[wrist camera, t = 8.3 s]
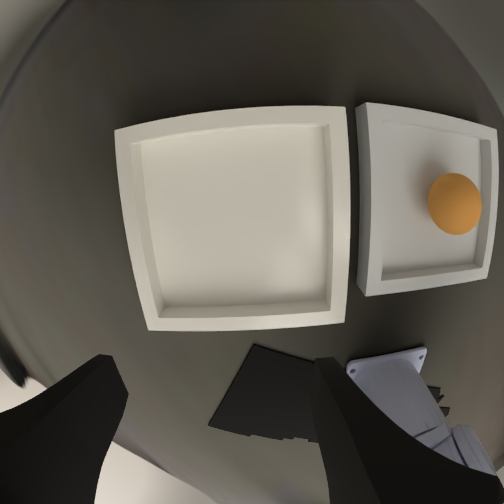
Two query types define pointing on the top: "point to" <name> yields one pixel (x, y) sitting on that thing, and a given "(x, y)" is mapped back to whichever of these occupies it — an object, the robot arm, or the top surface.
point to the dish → (238, 217)
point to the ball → (454, 203)
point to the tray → (420, 198)
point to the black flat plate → (274, 397)
